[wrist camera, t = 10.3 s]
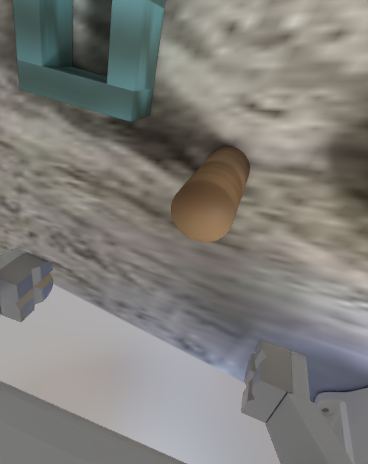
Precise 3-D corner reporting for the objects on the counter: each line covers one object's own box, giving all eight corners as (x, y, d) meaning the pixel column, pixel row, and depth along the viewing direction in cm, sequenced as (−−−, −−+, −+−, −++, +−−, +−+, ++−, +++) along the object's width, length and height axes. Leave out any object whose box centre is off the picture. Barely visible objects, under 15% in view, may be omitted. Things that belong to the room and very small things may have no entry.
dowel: (242, 195, 28) (223, 250, 19) (201, 182, 28) (166, 230, 20) (255, 153, 26) (242, 194, 17) (211, 141, 26) (177, 175, 18)
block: (149, 115, 26) (130, 121, 23) (51, 87, 28) (19, 89, 24) (169, -29, 21) (148, -48, 18) (47, -55, 23) (6, -76, 19)
